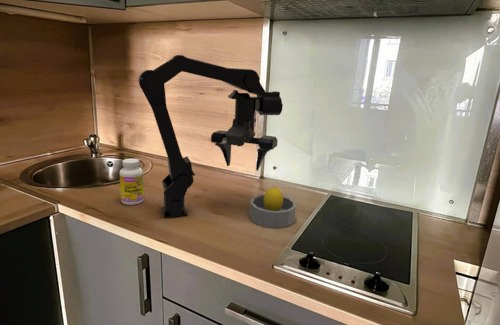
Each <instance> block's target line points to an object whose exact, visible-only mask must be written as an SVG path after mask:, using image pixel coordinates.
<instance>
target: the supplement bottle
mask: <svg viewBox="0 0 500 325" xmlns="http://www.w3.org/2000/svg"><path fill="white" fill-rule="evenodd" d="M140 165H141V164H140V159H137V158H125V159H123V160H122V166H123V167H122V168H121V169H120V170H119V188H120V190H119V191H120V201H121V203H122V204H124V205H128V206H129V205H130V206H131V205H133V206H134V205H138V204H141V203H142V202H144V200H145V185H144V184H145V182H144V170H143V169H142V168H141V167H140Z"/></svg>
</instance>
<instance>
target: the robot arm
mask: <svg viewBox="0 0 500 325" xmlns="http://www.w3.org/2000/svg"><path fill="white" fill-rule="evenodd" d="M182 72H183V73H187V74H190V75H191V74H192V75H194V76H195V75H196V76H199V77H204V78H208V79H211V80H216V81H221V82H222V83H225V84H227V85H229V86H231V87H234V88H236V89H233V91H232V92H231V93H230V94H229V95H227V98H228V99H231V100H235V104H234V105H235V106H234V118H233V119H232V125H231V127H229V129H227V130H220V129H219V130H216V131H213V132H212V133H211V136H210V143H214V145H215V146H217V147H218V148H219V149H220V151H221V152H222V155H223V157H224V161H225V163H226V166H227V167H229V166H230V165H231V160H232V159H231V158H232V157H231V156H232V146H236V147H243V146H244V145H245V144H251V145H258V147H259V148H257V149H256V151H257V156H256V157H257V158H256V164H255V165H256V167H255V170H256V171H258V172H259V169H260V168H261V165H262V163H263V161H264V159H265V157H266V155H267V153H268V152H270V151H273V150H274V149H275V148H277V147H278V138H277V137H276V136H273V135H262V136H261V137H255V136H256V131H255V125H256V122H257V118H256V112H257V113H258V114H259V116H280V115H281V114H282V111H283V101H282V97H281V95H280V94H281V93H280V91H276V90H275V91H265V89H264V87H263V86H262V84H261V82H260V80H261V79H260V76H259V73H258V72H257V71H256V70H254V69H249V68H235V67H234V68H233V67H225V66H222V65H217V64H213V63H210V62H206V61H202V60H198V59H195V58H190V57H187V56H185V55H183V54H176V55H173V56H172V57H171V58H169V60H167V61H166V62H164V63H162V64H160V65H159V66H158V67H156V68H154V69H145V70H143V71H142V72H141V73H140V75H139V76H138V85H139V87H140V89H141V91H142V93H143V94H144V96H145V98H146V100H147V102H148V104H149V105H150V107H151V111H152V113H153V116H154V120H155V122H156V125H157V128H158V132H159V134H160V138H161V141H162V144H163V147H164V149H165V153H166V155H167V167H168V175H166V176H165V177H164V178H163V179H162V180H161V183H162V187H163V190H164V191H163V206H162V207H161V211H162V214H163V218H173V217H184V216H188V211H187V209H186V206H185V205H186V204H185V203H186V202H185V199H186V198H185V197H186V194H187V192H188V189H189V188H191V187H192V185H193V183H194V177H195V176H196V173H195V172H194V170H193V167H192V161H191V160H190V158H189V156H188V155H187V156H185V157H184V156H183V155H182V152H181V148H180V146H179V142H178V138H177V136H176V133H175V129H174V126H173V123H172V120H171V117H170V113H169V110H168V107H167V98H166V88H165V84H166V83H168V82H170V81H171V80H172V79H173V78H175V77H176V76H178V75H179V74H180V73H182ZM237 89H238V90H240V91H245V92H239V91H238V90H237ZM250 94H251V95H256V96H251V95H250Z"/></svg>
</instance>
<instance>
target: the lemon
mask: <svg viewBox="0 0 500 325" xmlns="http://www.w3.org/2000/svg"><path fill="white" fill-rule="evenodd" d="M263 195H264V206H265V208H266V209H267V210H270V211H279V210H280V209H281V207H282V205H283V196H284V194H283V192H282V191H281V190H280V189H279V188H278V187H276V186H273V187H270V188H268V189H267V190H266V191H265V193H264V194H263Z"/></svg>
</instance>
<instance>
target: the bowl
mask: <svg viewBox="0 0 500 325" xmlns="http://www.w3.org/2000/svg"><path fill="white" fill-rule="evenodd" d="M264 195H265V194H258V195H256V196H254V197H251V199H250V202H249V218H250V220H251V222H253V223H254V224H256V225H259V226H262V227H264V228H265V227H266V228H272V229H279V228H287V227H289V226H291V225H292V224H294V223H295V218H296V206H297V203H296V201H295V200H293V199H292V198H290V197H287V196H284V195H283V205H282V207H281V209H280V210H279V211H270V210H267V209H266V208H265V206H264Z"/></svg>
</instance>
